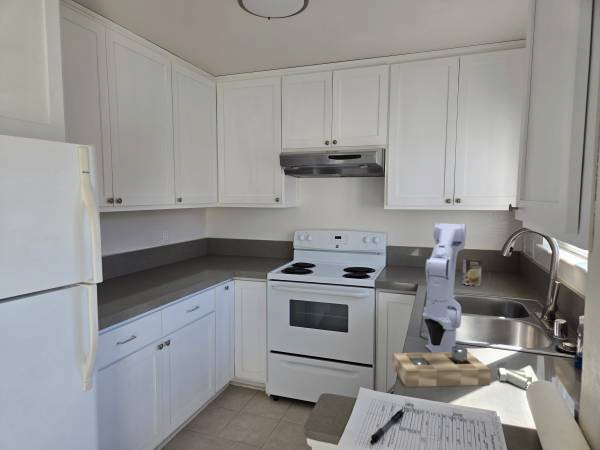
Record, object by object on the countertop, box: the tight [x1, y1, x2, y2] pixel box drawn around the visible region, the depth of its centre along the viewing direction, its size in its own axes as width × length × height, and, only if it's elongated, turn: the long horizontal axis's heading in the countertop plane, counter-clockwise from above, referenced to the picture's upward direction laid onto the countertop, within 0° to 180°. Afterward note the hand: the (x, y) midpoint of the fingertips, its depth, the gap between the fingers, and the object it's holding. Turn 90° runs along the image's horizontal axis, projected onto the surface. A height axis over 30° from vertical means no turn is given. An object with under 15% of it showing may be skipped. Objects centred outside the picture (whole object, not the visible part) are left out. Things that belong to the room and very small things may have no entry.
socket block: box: [391, 351, 492, 388], centre depth 109 cm, size 12×24×4 cm, turn 94°
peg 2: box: [451, 345, 468, 364], centre depth 109 cm, size 4×4×4 cm
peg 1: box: [412, 358, 427, 365], centre depth 108 cm, size 4×4×4 cm
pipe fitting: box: [496, 367, 533, 391], centre depth 104 cm, size 8×4×7 cm
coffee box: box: [461, 258, 483, 286], centre depth 227 cm, size 9×6×16 cm
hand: (435, 344), depth 108 cm, fingers closed
